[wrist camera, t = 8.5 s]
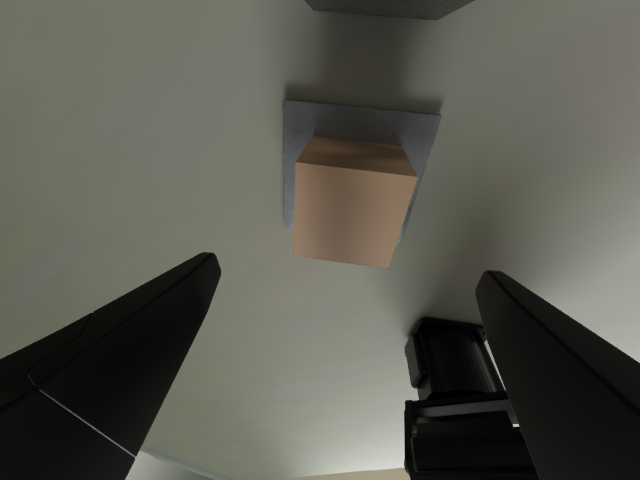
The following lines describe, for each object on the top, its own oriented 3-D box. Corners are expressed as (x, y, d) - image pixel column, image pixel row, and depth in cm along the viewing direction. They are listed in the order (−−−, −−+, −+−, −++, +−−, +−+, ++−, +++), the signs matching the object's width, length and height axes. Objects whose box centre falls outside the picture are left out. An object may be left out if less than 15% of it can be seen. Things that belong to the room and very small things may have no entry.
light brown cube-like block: (402, 146, 15) (418, 177, 11) (382, 223, 18) (388, 269, 14) (312, 135, 16) (295, 162, 11) (307, 213, 19) (293, 255, 15)
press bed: (439, 114, 14) (441, 115, 14) (399, 241, 20) (399, 244, 19) (284, 99, 15) (282, 99, 15) (285, 226, 20) (284, 229, 20)
